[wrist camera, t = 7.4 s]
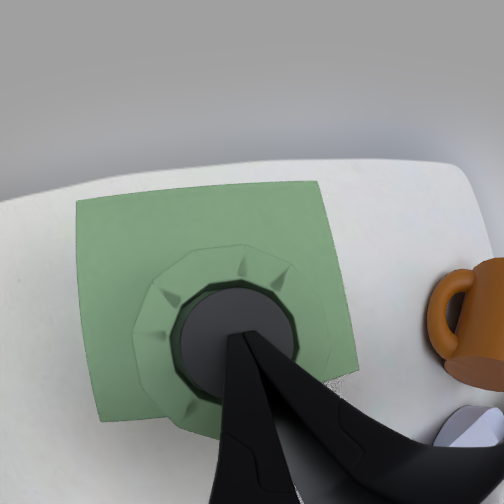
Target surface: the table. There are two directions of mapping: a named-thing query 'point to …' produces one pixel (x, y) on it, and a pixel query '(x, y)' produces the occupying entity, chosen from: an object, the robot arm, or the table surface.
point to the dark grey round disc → (228, 332)
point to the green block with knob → (201, 288)
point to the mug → (472, 325)
